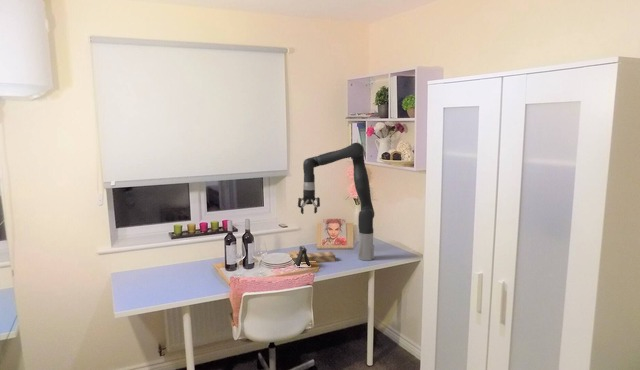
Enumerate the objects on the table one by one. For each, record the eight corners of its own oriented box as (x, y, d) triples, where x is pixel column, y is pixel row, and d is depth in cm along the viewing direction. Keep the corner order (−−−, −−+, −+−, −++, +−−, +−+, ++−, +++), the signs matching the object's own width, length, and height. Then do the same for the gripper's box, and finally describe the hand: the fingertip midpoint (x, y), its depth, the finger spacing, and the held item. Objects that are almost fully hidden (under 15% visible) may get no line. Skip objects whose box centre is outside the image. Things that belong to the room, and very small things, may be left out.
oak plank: (331, 257, 290) (331, 251, 290) (335, 261, 282) (335, 254, 282) (289, 260, 282) (289, 254, 282) (291, 264, 275) (291, 257, 274)
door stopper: (308, 264, 275) (308, 245, 274) (311, 267, 269) (311, 247, 268) (294, 265, 273) (294, 246, 271) (296, 268, 267) (296, 248, 266)
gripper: (318, 187, 295) (317, 212, 297) (297, 188, 292) (296, 212, 293) (321, 189, 288) (320, 214, 290) (299, 189, 284) (299, 214, 286)
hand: (308, 213), depth 292 cm, fingers open, 8 cm apart
